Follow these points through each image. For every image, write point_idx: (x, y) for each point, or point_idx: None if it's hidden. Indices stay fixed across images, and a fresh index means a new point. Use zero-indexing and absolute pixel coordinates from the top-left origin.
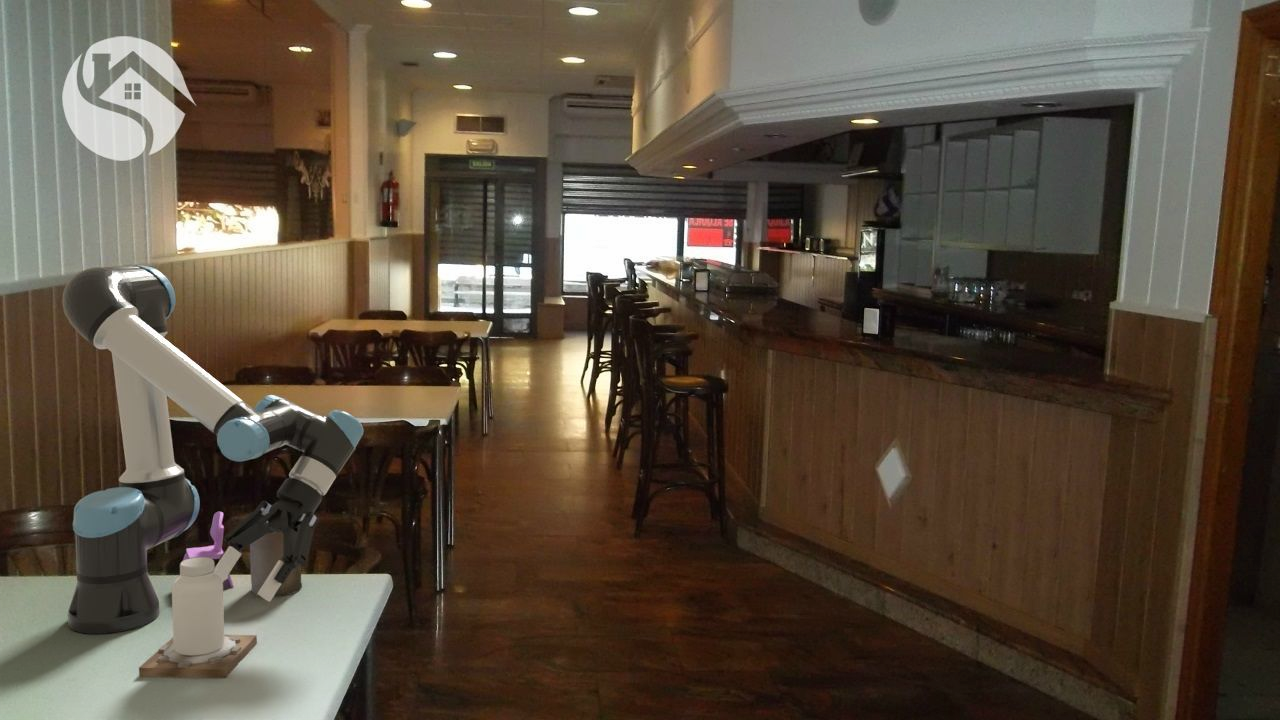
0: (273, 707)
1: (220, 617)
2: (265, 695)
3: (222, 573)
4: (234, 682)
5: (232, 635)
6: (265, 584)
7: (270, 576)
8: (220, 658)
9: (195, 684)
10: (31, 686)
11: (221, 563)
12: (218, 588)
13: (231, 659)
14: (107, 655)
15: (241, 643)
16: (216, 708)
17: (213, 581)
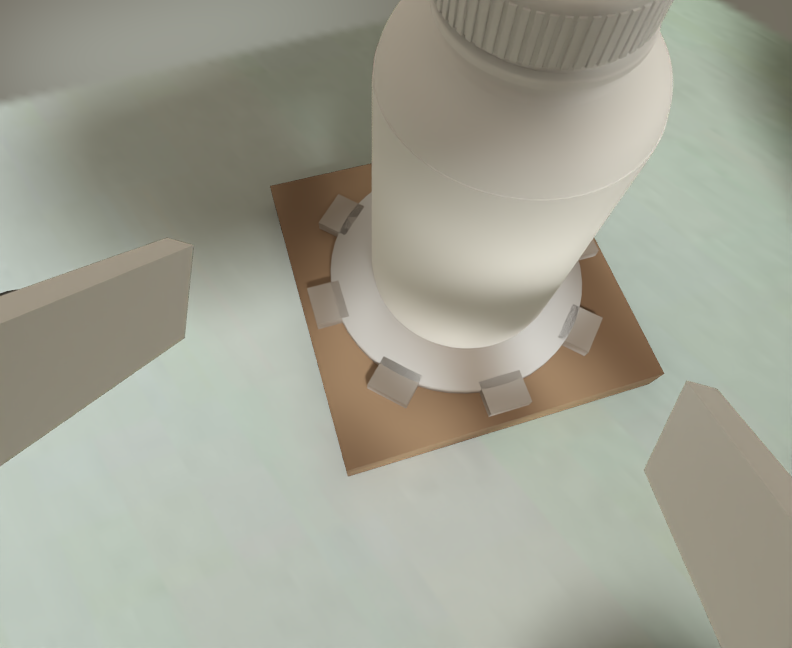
0: (31, 106)
1: (372, 208)
2: (88, 152)
3: (685, 476)
4: (229, 191)
5: (443, 433)
6: (131, 255)
7: (88, 273)
8: (323, 221)
9: (336, 152)
10: (729, 42)
11: (734, 453)
12: (372, 87)
13: (297, 249)
14: (751, 227)
15: (353, 376)
16: (187, 68)
17: (397, 33)
